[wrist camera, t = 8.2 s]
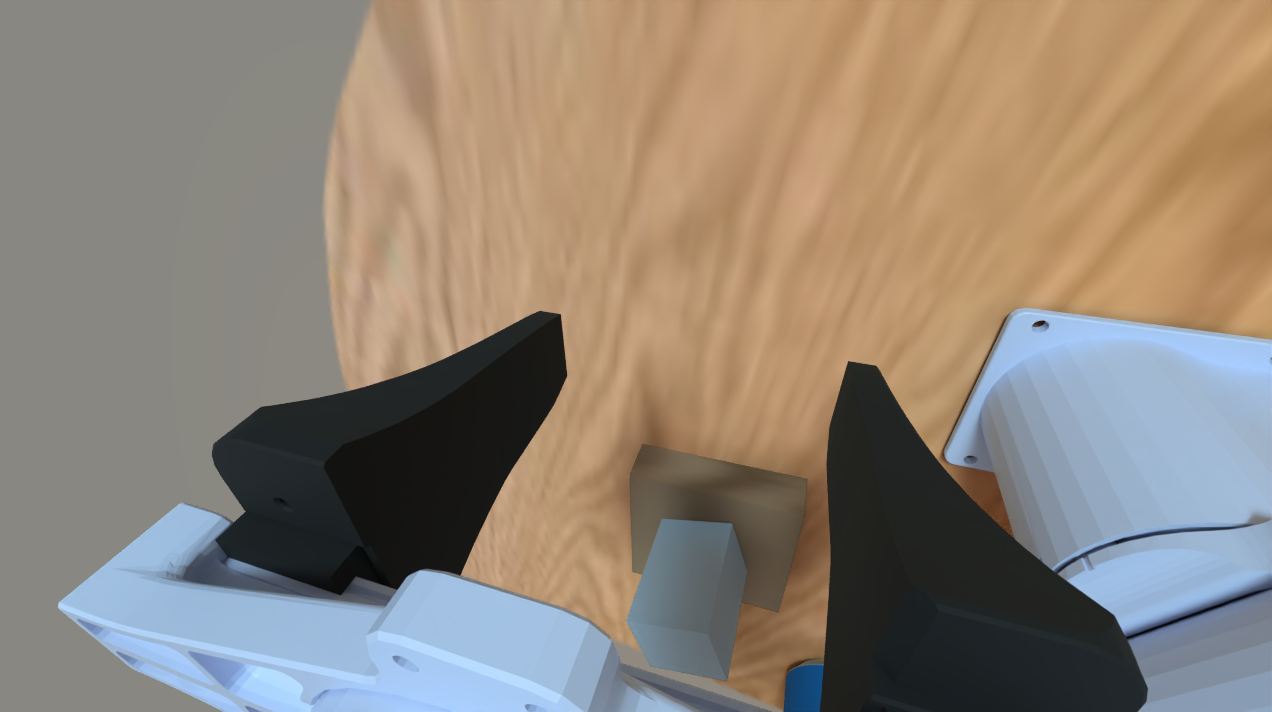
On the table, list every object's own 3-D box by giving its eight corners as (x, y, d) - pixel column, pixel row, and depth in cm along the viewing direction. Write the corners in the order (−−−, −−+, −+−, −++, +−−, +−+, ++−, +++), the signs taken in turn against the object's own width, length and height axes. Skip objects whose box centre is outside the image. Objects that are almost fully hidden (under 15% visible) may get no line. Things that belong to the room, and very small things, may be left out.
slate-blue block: (732, 523, 28) (707, 634, 23) (747, 570, 30) (727, 681, 25) (661, 518, 30) (626, 621, 25) (680, 563, 32) (650, 666, 27)
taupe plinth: (807, 470, 28) (804, 515, 26) (782, 568, 34) (778, 612, 31) (645, 436, 31) (629, 475, 28) (646, 532, 36) (632, 571, 34)
